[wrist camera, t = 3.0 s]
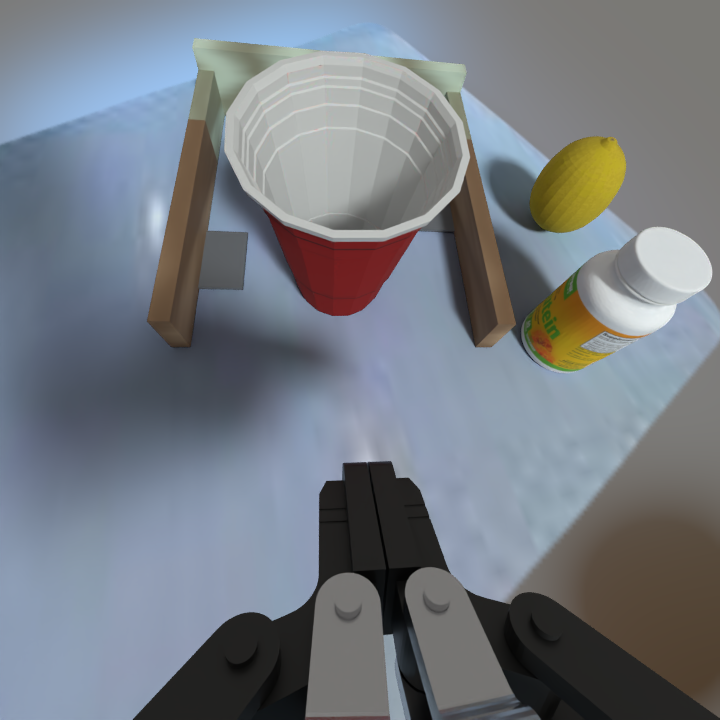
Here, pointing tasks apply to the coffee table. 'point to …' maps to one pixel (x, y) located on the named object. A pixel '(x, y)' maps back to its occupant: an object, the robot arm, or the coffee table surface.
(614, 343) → the supplement bottle
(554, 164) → the lemon
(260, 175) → the plastic cup
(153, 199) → the coffee table surface
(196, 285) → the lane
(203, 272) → the pads
